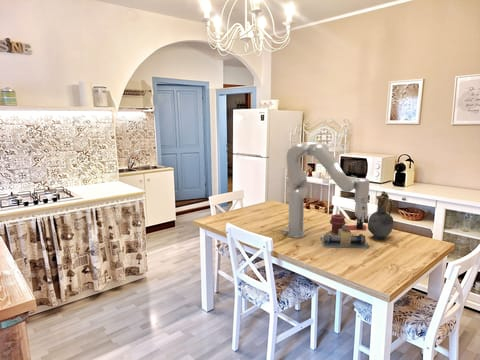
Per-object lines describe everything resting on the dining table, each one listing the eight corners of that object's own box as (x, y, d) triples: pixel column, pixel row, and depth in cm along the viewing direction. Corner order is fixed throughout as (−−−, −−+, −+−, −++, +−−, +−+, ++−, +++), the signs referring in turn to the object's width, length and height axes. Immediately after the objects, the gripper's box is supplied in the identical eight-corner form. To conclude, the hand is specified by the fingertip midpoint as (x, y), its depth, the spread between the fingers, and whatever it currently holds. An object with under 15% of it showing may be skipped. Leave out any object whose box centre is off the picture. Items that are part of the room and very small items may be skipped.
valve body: (324, 247, 190) (325, 234, 188) (320, 238, 204) (320, 226, 202) (369, 248, 188) (370, 235, 187) (362, 239, 202) (363, 227, 200)
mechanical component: (344, 230, 217) (345, 235, 208) (328, 229, 219) (329, 234, 210) (345, 213, 215) (346, 217, 205) (329, 212, 217) (330, 216, 207)
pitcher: (364, 237, 204) (367, 192, 199) (381, 231, 215) (385, 188, 209) (380, 243, 195) (384, 195, 190) (397, 236, 206) (401, 191, 200)
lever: (343, 231, 193) (343, 226, 192) (341, 229, 196) (341, 225, 195) (366, 230, 193) (366, 226, 193) (364, 228, 196) (364, 224, 196)
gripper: (372, 202, 181) (370, 233, 184) (364, 196, 195) (362, 225, 199) (358, 202, 181) (356, 233, 185) (351, 196, 196) (349, 225, 199)
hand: (359, 229), depth 192 cm, fingers closed
